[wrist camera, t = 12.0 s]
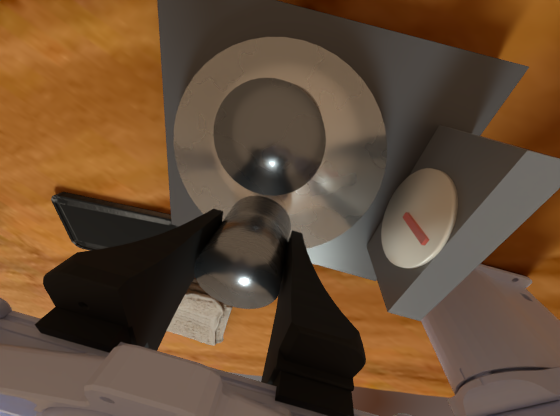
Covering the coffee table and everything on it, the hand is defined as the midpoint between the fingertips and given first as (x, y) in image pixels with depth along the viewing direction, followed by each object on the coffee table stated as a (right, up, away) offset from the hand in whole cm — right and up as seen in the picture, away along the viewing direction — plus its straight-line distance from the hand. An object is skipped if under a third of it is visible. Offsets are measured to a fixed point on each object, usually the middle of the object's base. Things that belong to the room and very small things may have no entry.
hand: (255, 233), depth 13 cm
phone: (-17, -1, +12) cm, 21 cm away
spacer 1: (+2, +7, -1) cm, 7 cm away
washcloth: (-14, -11, +18) cm, 25 cm away
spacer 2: (0, +1, +2) cm, 2 cm away
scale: (+3, +6, +4) cm, 8 cm away
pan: (+1, +4, +2) cm, 5 cm away
